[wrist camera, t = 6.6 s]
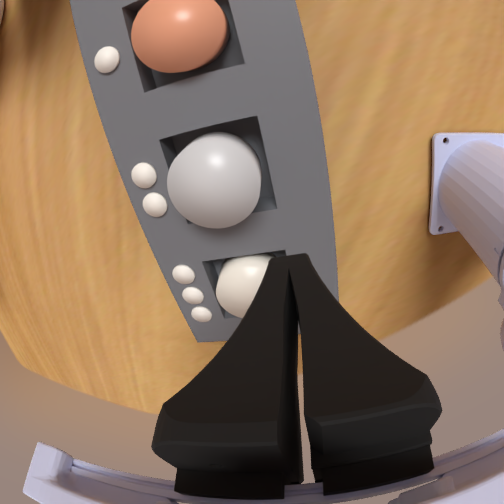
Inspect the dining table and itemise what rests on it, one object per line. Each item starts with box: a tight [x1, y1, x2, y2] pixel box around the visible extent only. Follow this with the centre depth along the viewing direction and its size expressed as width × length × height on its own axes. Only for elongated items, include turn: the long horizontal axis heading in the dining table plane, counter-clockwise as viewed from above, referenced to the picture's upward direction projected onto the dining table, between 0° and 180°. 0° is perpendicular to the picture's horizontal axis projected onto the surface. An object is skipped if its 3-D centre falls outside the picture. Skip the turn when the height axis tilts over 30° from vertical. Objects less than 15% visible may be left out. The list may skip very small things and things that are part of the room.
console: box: [70, 0, 339, 342], centre depth 18 cm, size 12×28×3 cm, turn 12°
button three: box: [216, 252, 276, 318], centre depth 22 cm, size 5×5×2 cm
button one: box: [131, 0, 230, 73], centre depth 12 cm, size 5×5×2 cm
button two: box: [167, 132, 262, 228], centre depth 16 cm, size 5×5×2 cm
